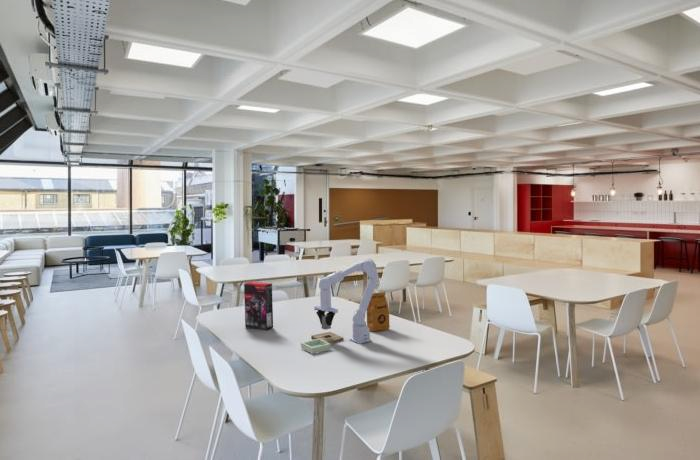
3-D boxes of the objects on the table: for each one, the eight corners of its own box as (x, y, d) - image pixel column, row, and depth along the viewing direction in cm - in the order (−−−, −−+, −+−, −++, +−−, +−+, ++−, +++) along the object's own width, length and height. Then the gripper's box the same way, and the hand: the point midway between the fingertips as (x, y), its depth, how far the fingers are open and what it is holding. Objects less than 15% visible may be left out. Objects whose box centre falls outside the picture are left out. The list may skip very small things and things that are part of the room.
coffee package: (391, 330, 249) (391, 293, 247) (371, 333, 244) (371, 295, 243) (384, 326, 258) (383, 290, 257) (365, 328, 254) (364, 291, 252)
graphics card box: (244, 327, 260) (242, 283, 259) (251, 324, 266) (250, 281, 265) (266, 331, 252) (265, 285, 251) (274, 328, 258) (272, 283, 257)
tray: (330, 349, 218) (330, 343, 218) (311, 354, 212) (311, 348, 212) (319, 344, 227) (319, 338, 227) (301, 348, 221) (300, 342, 221)
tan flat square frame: (343, 340, 233) (343, 337, 233) (324, 344, 226) (324, 341, 226) (329, 334, 244) (329, 331, 244) (311, 338, 237) (311, 335, 237)
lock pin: (330, 328, 233) (330, 315, 233) (325, 329, 231) (325, 316, 231) (327, 327, 236) (326, 314, 236) (321, 328, 234) (321, 315, 233)
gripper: (340, 299, 232) (341, 324, 233) (319, 297, 240) (320, 321, 241) (333, 302, 226) (333, 328, 227) (311, 299, 234) (312, 324, 235)
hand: (326, 324), depth 233 cm, fingers closed on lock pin, 4 cm apart
